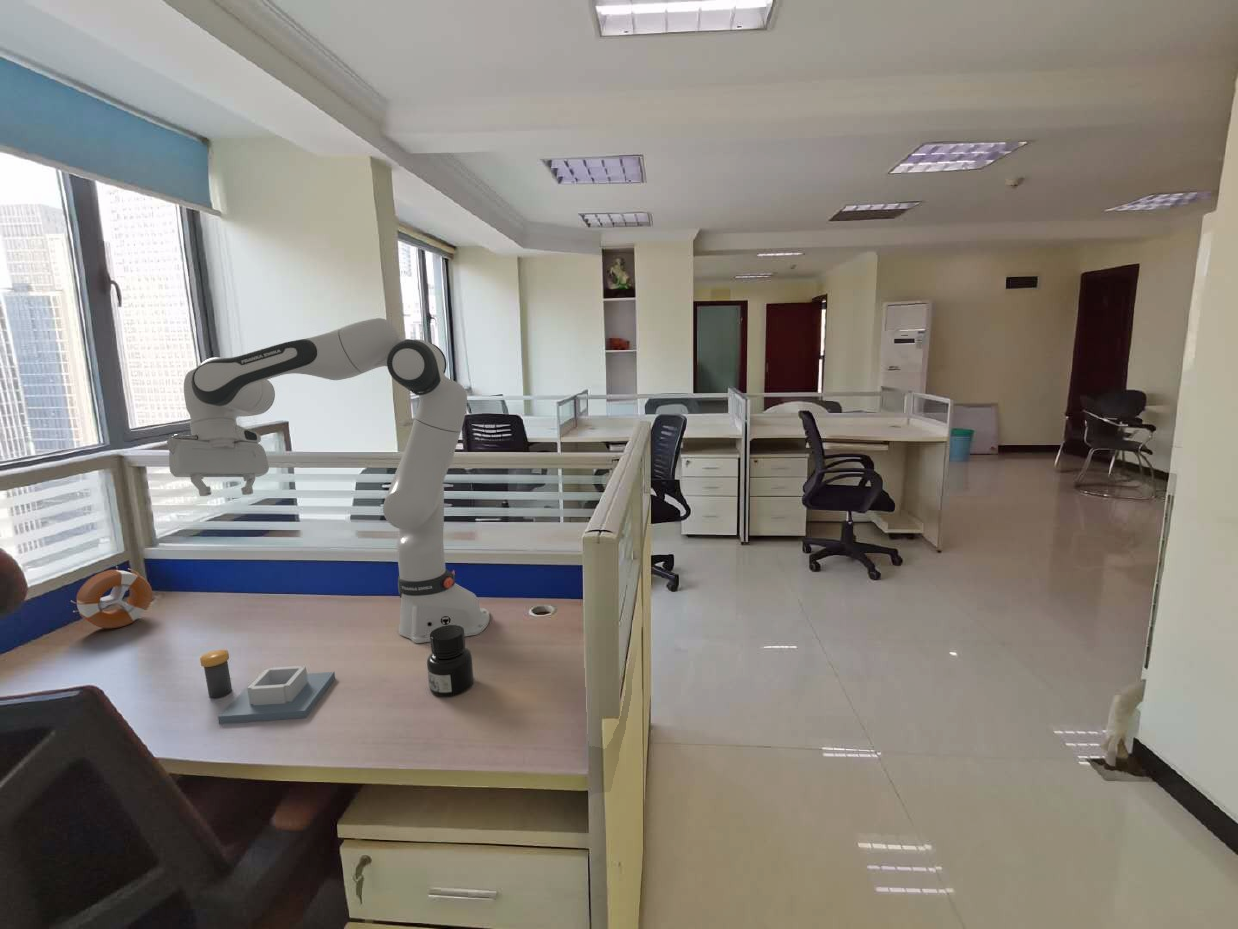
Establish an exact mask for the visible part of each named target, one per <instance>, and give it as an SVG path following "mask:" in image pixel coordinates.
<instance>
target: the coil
mask: <svg viewBox="0 0 1238 929" xmlns="http://www.w3.org/2000/svg"><path fill="white" fill-rule="evenodd" d="M115 568H116V569H108V570H106V571H105V570H104V571H102V572H99V573H96V574H94V576H92V577H90V578H88V579H87V580H86V581H85V582H84V583H83V584H82V586H81V587H80V589H79V590H78V591H77V594H76V598H75V599H76V602H75V601H73V600H70V602H71V603H73V604H76V607H77V610H73V611H72V612H73V613H77V612H79V615H80V617H81V618H82V619H84V620H85V621H86V622H88V623H90V624H92V625H94V626H96V627H99V628H103V629H118V628H122V627H124V626H125V627H126V626H128V625H130V624H132V623H135V622H134V621H136V620H137V619H138V618H140V617H141V616H142V615H143V614H144V613H145V612H146V611H148V609H149V607H150V605H151V603H152V599H153V590H152V587H151V585H150V583H149V582H148V581H147V579H146V578H144V577H143V576H141V575H140V573H139V572H138V571H135V569H131V568H127V570H129V571H131V572H129V571H125V570H120V569H119V566H115ZM118 569H119V570H118ZM110 589H111V592H110V594H109V595H106V596H103V595H104V594H105V593H106V592H107V591H109V590H110ZM128 590H129V595H128V596H129V597H128V599H127V601H126V602H125V601H123V598H124V595H125V594H126V591H128ZM114 604H116V606H117V607H119V608H117V609H114V610H110V611H106V610H102V609H105V608H107V606H111V605H114Z"/></svg>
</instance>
